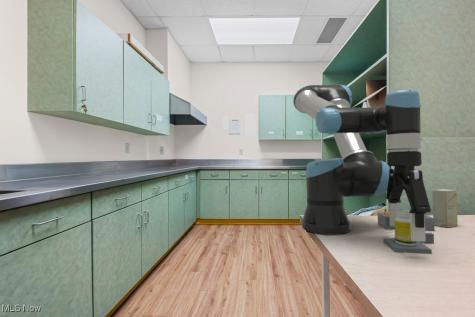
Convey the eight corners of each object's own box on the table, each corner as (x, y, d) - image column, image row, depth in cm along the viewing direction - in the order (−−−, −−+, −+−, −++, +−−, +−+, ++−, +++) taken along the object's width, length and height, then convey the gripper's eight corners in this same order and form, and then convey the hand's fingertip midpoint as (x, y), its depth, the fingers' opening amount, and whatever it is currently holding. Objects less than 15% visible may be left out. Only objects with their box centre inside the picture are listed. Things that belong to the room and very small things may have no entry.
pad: (394, 251, 63) (394, 247, 63) (383, 241, 71) (383, 238, 71) (431, 253, 61) (431, 249, 61) (416, 243, 69) (416, 239, 69)
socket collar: (434, 243, 69) (433, 234, 69) (414, 242, 70) (413, 233, 70) (417, 233, 78) (417, 225, 78) (399, 233, 79) (399, 225, 79)
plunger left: (387, 225, 86) (387, 213, 86) (384, 222, 89) (384, 211, 89) (398, 225, 85) (398, 213, 85) (394, 223, 88) (394, 211, 88)
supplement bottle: (415, 247, 63) (414, 213, 63) (393, 243, 66) (392, 211, 66) (418, 242, 66) (417, 210, 67) (397, 239, 70) (396, 208, 70)
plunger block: (385, 229, 84) (385, 217, 84) (377, 223, 91) (377, 212, 91) (434, 230, 81) (434, 218, 81) (422, 224, 88) (421, 213, 88)
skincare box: (447, 228, 84) (446, 190, 84) (432, 225, 88) (431, 189, 88) (458, 225, 86) (457, 189, 86) (443, 223, 90) (442, 188, 90)
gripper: (448, 148, 54) (451, 250, 53) (400, 152, 78) (401, 222, 78) (408, 149, 55) (411, 248, 55) (373, 152, 80) (374, 221, 79)
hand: (405, 233), depth 66 cm, fingers open, 13 cm apart
